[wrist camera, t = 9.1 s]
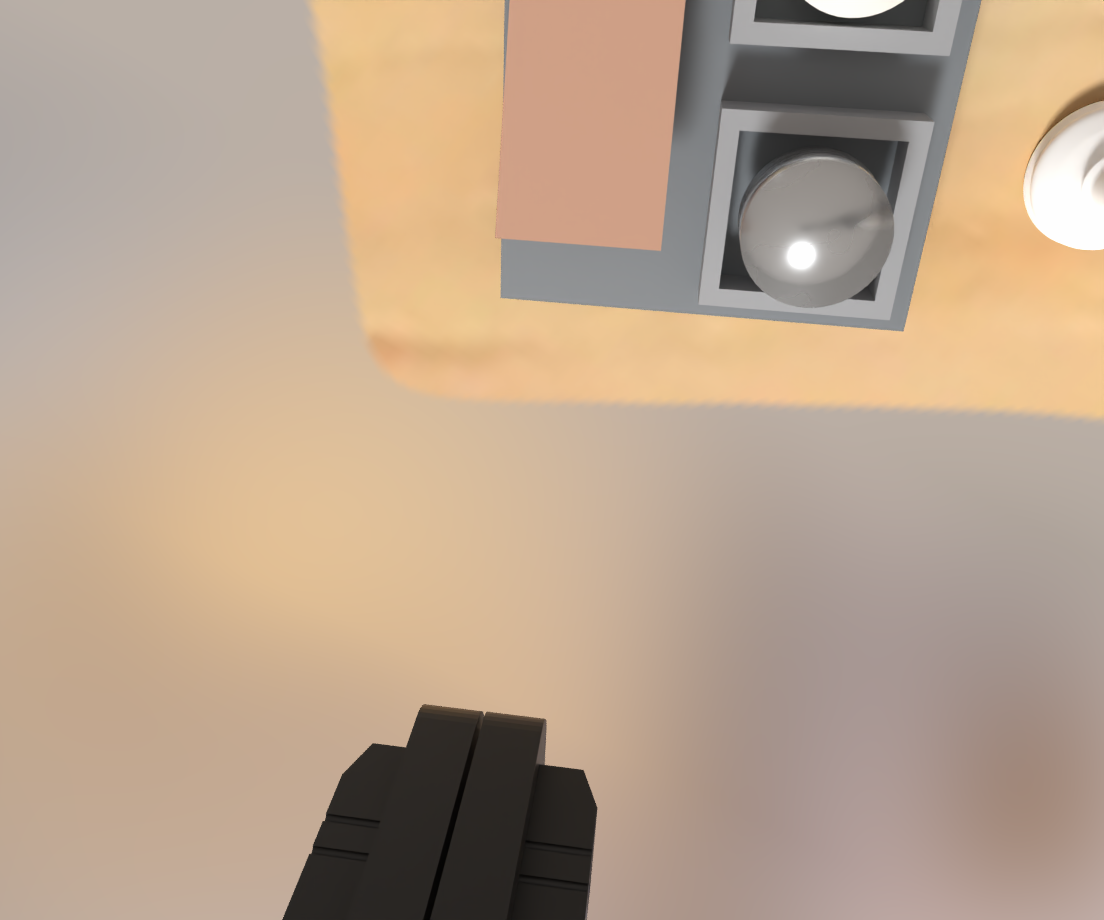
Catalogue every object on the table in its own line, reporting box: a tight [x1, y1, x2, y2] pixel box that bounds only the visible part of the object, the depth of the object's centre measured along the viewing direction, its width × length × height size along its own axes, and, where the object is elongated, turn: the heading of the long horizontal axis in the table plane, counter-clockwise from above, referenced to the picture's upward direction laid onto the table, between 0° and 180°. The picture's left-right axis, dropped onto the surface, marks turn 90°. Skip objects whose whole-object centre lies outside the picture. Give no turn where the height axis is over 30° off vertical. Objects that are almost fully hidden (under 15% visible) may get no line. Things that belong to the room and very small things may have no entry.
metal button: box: [738, 146, 894, 308], centre depth 29 cm, size 4×4×2 cm
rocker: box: [495, 0, 686, 251], centre depth 28 cm, size 5×10×1 cm, turn 178°
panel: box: [501, 0, 981, 331], centre depth 30 cm, size 14×16×4 cm
